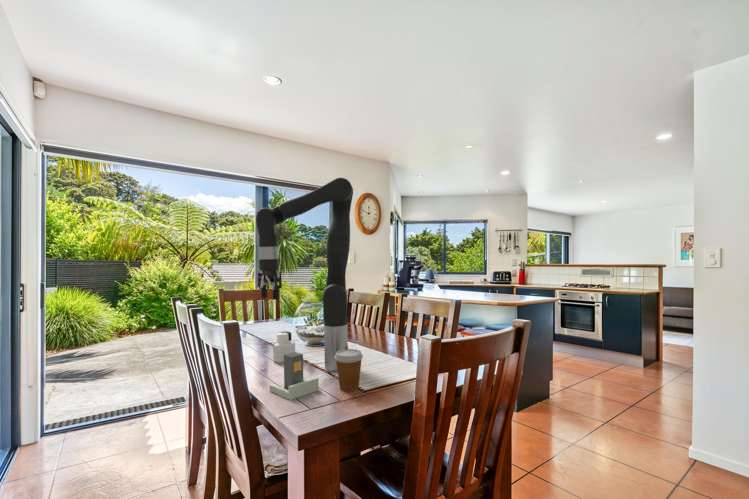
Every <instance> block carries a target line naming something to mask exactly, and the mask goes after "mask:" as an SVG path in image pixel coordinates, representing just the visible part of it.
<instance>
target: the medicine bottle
mask: <svg viewBox="0 0 749 499" xmlns="http://www.w3.org/2000/svg"><path fill="white" fill-rule="evenodd" d="M293 352H296V341H292V332H290V331H279V332H278V333H277V334H276V343H275V344H274V345H273V362H274V363H284V355H285V354H289V353H293Z"/></svg>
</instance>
